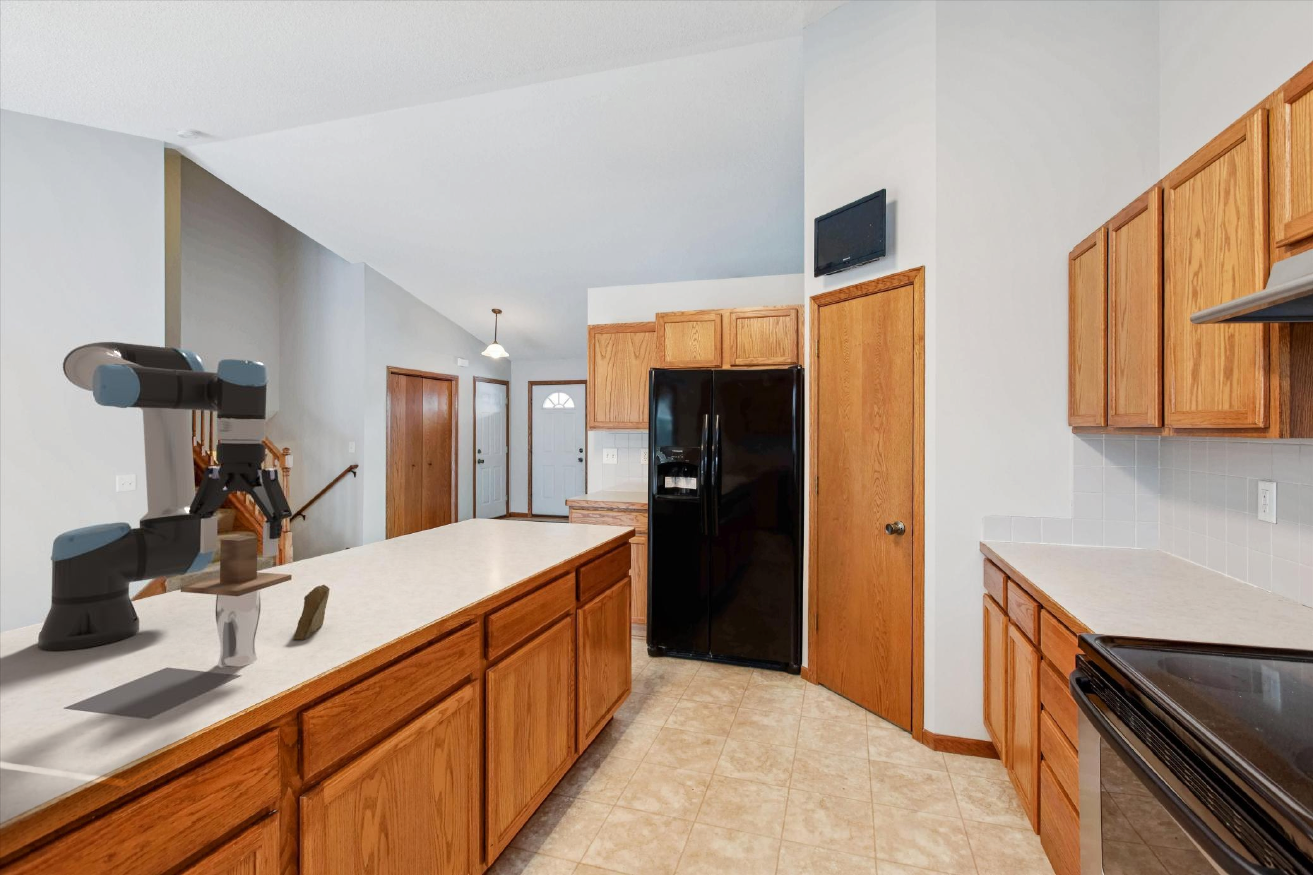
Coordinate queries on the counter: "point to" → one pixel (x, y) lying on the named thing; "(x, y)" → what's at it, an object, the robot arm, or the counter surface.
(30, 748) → the counter surface
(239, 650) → the beer glass
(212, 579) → the lid
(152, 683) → the mat
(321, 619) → the rock
